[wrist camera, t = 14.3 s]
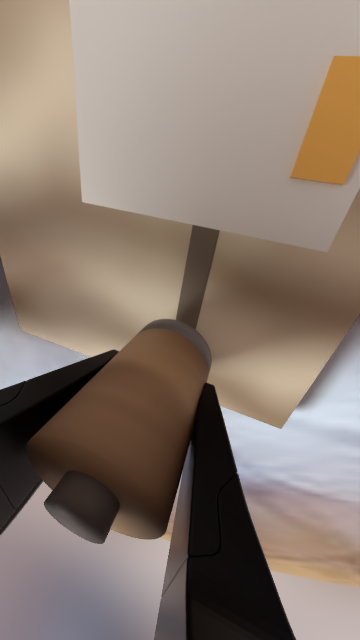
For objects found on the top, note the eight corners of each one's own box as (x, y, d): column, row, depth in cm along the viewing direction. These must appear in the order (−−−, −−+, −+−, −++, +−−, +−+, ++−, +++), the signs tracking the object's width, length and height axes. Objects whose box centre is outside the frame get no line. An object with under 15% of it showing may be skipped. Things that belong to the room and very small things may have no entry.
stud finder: (305, 243, 8) (328, 253, 5) (121, 206, 9) (79, 201, 7) (395, 44, 5) (506, -93, 3) (124, 39, 7) (61, -54, 4)
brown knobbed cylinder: (202, 395, 11) (147, 590, 5) (135, 370, 11) (23, 515, 6) (221, 333, 9) (167, 536, 3) (139, 308, 10) (-23, 435, 4)
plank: (278, 408, 13) (281, 429, 12) (37, 321, 17) (19, 330, 16) (549, -27, 5) (654, -114, 4) (-32, -5, 9) (-80, -43, 8)
